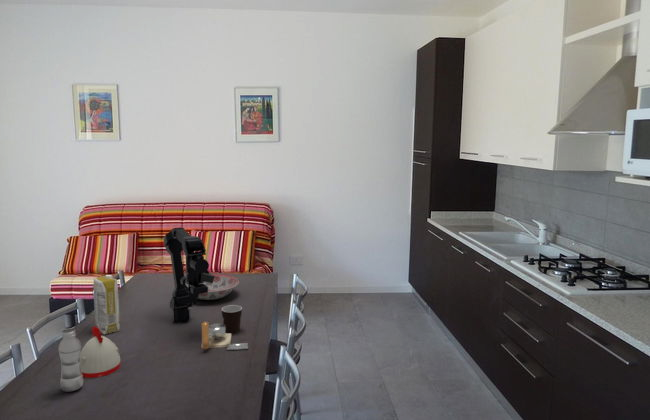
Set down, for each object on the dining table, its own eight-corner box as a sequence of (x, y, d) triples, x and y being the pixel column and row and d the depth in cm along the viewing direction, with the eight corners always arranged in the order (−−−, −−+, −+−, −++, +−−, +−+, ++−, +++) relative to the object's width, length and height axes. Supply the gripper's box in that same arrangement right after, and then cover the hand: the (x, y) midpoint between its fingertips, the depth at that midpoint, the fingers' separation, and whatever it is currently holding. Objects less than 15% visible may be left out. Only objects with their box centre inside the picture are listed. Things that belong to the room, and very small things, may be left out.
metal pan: (213, 333, 193) (212, 310, 192) (228, 335, 192) (228, 312, 190) (195, 347, 180) (195, 323, 179) (212, 350, 178) (211, 325, 177)
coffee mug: (237, 336, 195) (237, 313, 194) (218, 334, 197) (218, 311, 195) (247, 325, 206) (247, 303, 205) (229, 323, 208) (229, 302, 207)
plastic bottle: (66, 384, 155) (62, 326, 152) (87, 383, 156) (83, 326, 153) (56, 394, 149) (52, 335, 146) (79, 394, 149) (75, 334, 146)
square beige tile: (201, 348, 183) (201, 341, 183) (204, 336, 194) (204, 329, 193) (230, 346, 185) (229, 339, 184) (231, 335, 196) (231, 328, 195)
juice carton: (122, 331, 198) (119, 276, 195) (102, 336, 193) (99, 280, 189) (112, 324, 205) (109, 271, 201) (93, 330, 199) (90, 275, 195)
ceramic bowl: (250, 294, 247) (250, 280, 246) (209, 311, 223) (209, 295, 221) (211, 285, 262) (210, 271, 261) (168, 299, 238) (168, 284, 237)
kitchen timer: (112, 355, 176) (110, 317, 174) (127, 368, 166) (125, 328, 164) (72, 367, 166) (69, 327, 164) (85, 382, 157) (82, 339, 155)
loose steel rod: (226, 344, 181) (227, 343, 184) (226, 350, 181) (227, 349, 184) (247, 343, 183) (247, 342, 185) (247, 349, 182) (247, 348, 185)
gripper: (220, 270, 189) (221, 307, 191) (205, 260, 204) (206, 295, 206) (192, 274, 183) (194, 312, 185) (179, 264, 198) (180, 299, 200)
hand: (194, 304), depth 194 cm, fingers closed
